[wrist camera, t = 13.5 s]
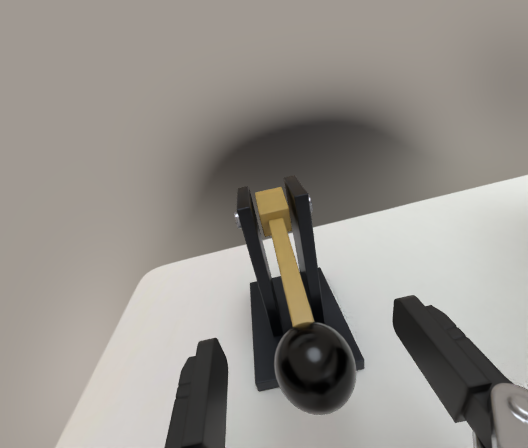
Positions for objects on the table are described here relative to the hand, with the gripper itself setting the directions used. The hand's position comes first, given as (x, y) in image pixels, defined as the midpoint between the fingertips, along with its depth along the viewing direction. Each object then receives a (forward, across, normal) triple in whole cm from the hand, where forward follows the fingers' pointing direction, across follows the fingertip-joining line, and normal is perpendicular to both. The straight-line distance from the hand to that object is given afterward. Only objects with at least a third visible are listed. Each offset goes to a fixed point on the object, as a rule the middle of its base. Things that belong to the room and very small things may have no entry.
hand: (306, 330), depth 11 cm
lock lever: (+5, 0, +2) cm, 5 cm away
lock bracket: (+10, 0, +12) cm, 15 cm away
